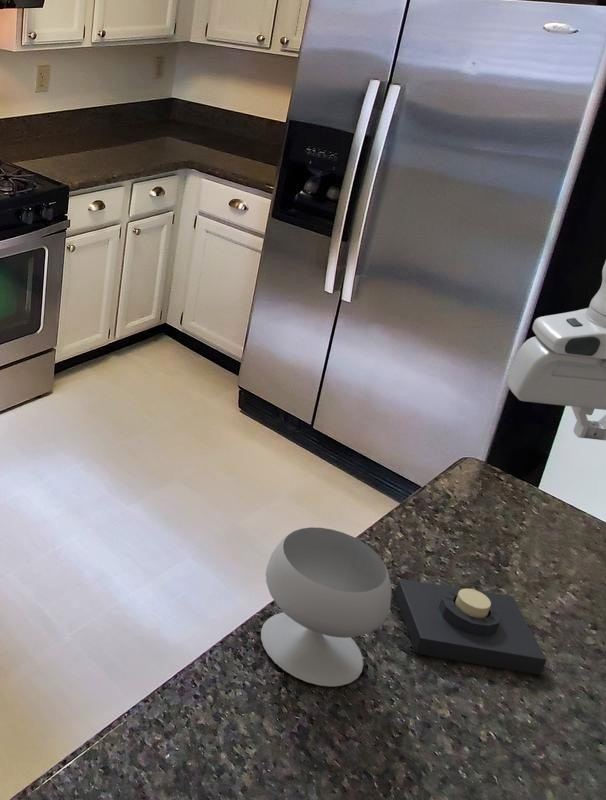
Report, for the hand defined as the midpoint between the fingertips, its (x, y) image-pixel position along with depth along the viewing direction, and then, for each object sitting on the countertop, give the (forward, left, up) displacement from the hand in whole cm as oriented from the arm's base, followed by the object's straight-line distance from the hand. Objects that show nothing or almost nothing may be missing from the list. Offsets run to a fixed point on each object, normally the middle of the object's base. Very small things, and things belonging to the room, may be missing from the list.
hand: (589, 436), depth 98 cm
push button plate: (+10, +8, -27) cm, 30 cm away
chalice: (+30, +16, -27) cm, 43 cm away
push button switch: (+10, +8, -23) cm, 26 cm away
